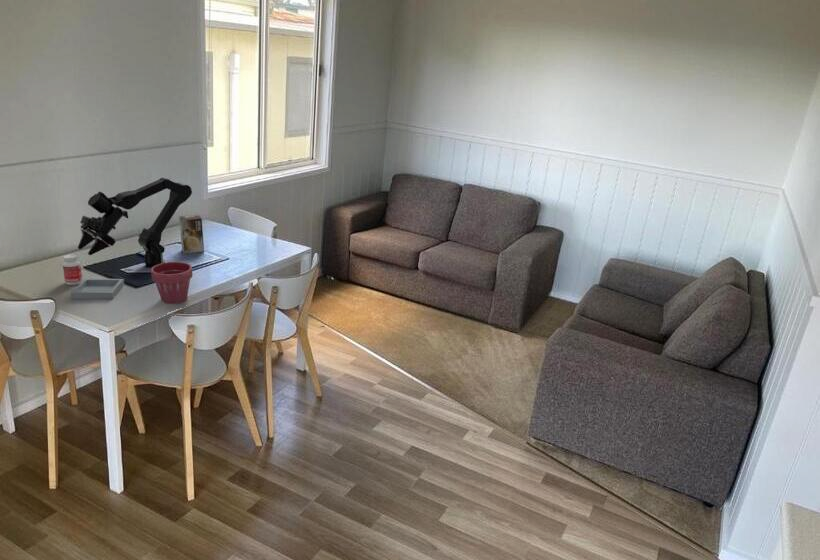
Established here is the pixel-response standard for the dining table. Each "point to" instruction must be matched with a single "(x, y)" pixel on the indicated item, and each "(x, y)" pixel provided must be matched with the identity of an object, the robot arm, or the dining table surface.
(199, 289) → the dining table surface
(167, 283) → the plant pot
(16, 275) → the dining table surface
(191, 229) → the coffee box
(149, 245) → the robot arm
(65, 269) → the pill bottle
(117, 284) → the tray
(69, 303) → the dining table surface
